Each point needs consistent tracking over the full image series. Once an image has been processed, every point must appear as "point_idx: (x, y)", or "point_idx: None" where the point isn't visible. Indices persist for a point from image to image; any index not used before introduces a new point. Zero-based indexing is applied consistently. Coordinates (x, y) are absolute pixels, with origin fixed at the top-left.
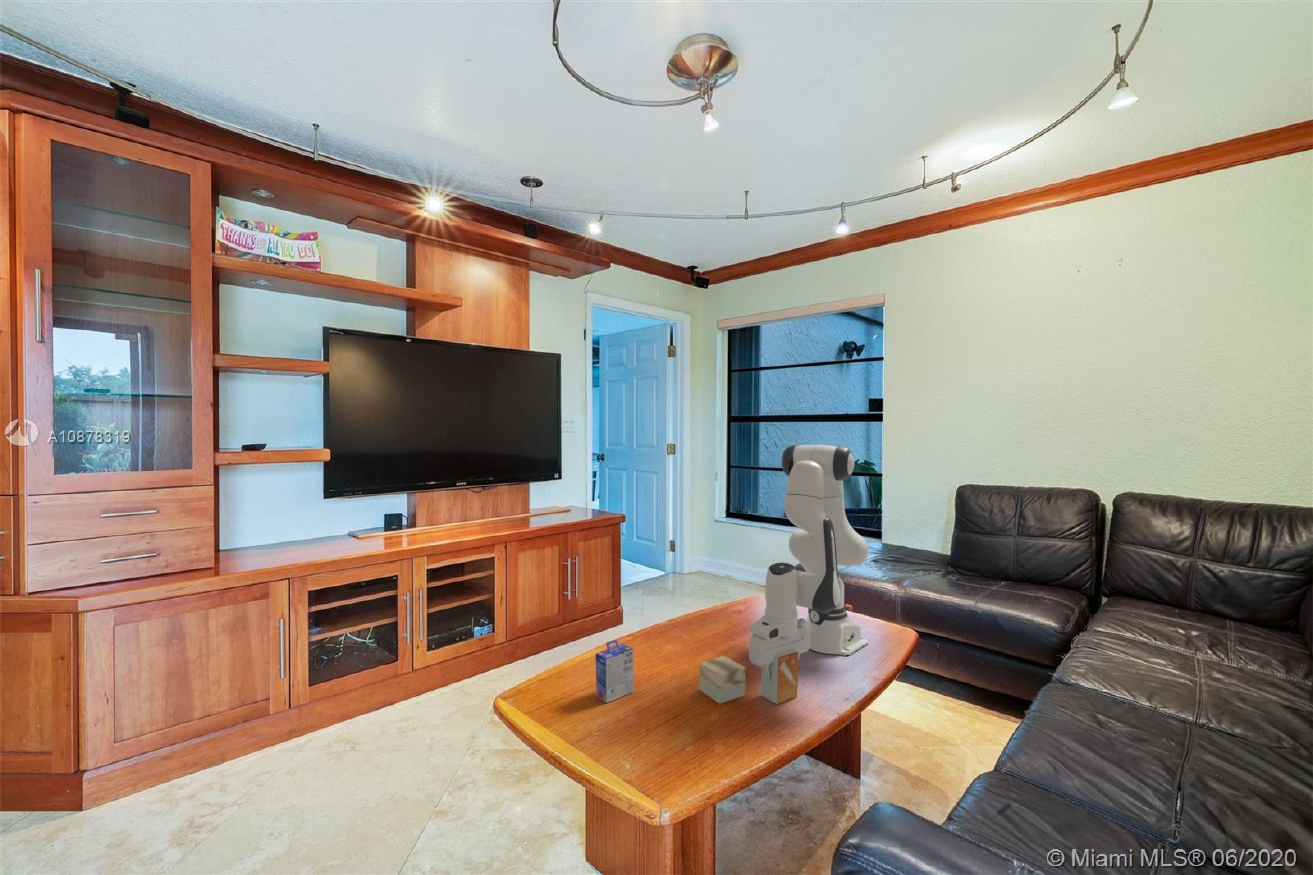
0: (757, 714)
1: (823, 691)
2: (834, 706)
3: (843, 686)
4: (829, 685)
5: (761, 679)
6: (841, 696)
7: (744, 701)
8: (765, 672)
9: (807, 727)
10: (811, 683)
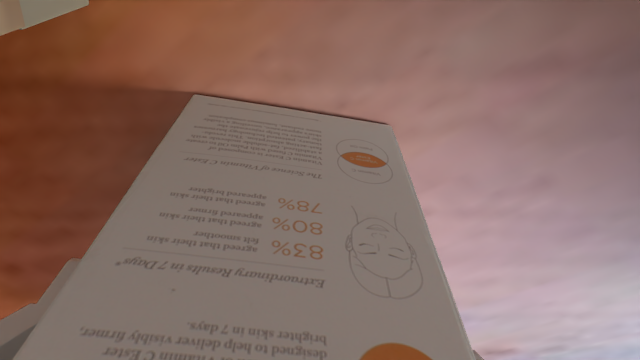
0: (21, 202)
1: (504, 282)
2: None
3: (613, 311)
4: (592, 274)
5: (152, 156)
6: (502, 337)
7: (25, 65)
8: None
9: None
10: (568, 212)
